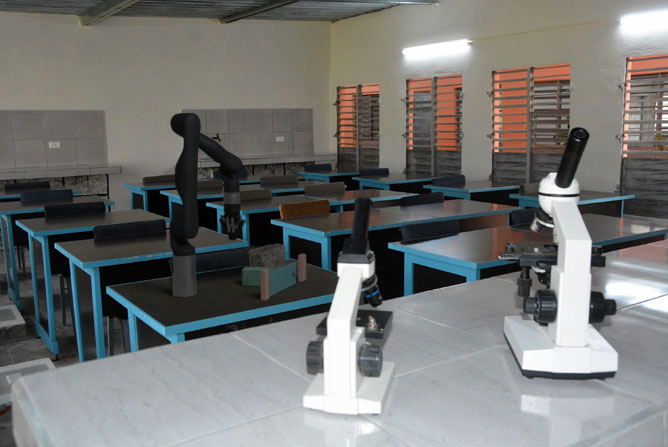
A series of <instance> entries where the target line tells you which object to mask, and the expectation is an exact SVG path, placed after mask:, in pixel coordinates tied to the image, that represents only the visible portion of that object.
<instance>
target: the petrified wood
mask: <svg viewBox="0 0 668 447" xmlns="http://www.w3.org/2000/svg"><path fill="white" fill-rule="evenodd" d="M248 264H249V265H248V267H268V268H274V271H275V270H277V269H279V268H282V267H284V266H286V265H287V264H286V246H285V245H284V244H282V243H281V244H280V243H273V244H266V245H264V246H260V247H256V248H252V249H249V250H248Z"/></svg>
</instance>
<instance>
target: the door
mask: <svg viewBox="0 0 668 447" xmlns="http://www.w3.org/2000/svg"><path fill="white" fill-rule="evenodd" d="M297 276H298V272H297V262H295V261H294V262H291V263H289V264H286V266H284V267H282V268H279V269H277V270H275V271H272V272H270V273H269V298H270V297H272V296H274V295H276V294H278V293H281V292H282V291H284V290H286V289H287V288H289V287H292V286H294V285H296V284H297Z"/></svg>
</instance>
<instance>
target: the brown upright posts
mask: <svg viewBox="0 0 668 447" xmlns="http://www.w3.org/2000/svg"><path fill="white" fill-rule="evenodd" d="M297 256H298V257H297V265H298V266H297V271H298V272H297V276H298V278H297V281H298V282H304V281H306V280H307V254H306V253H300V254H298V255H297ZM269 299H270V297H269V270H262V271H261V286H260V300H261V301H268V300H269Z"/></svg>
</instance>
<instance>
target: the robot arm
mask: <svg viewBox="0 0 668 447" xmlns="http://www.w3.org/2000/svg"><path fill="white" fill-rule="evenodd" d="M169 122H170V123H169V124H170V128H171V130H172V132H173V133H175V134H176V135H177V136H179V137H181V138H183V148H182V150H181V152H180V155H179V157H178V159H177V161H176V164H175V166H174V188H176V192H177V194H178V196H179V198H180V201H181V203H182V209H183V210H182V212H183V214H182V215H175V216H173V217H172V218H171V220H170V222H169V225H168V226H169V228H168V229H169V230H168V231H169V244H170V249H171V251H172V266H173V267H172V270H173V271H172V272H173V273H172V277H171V278H172V280H171V281H172V284H171V285H172V297H178V298H188V297H193V296H196V295H197V265H196V263H197V262H196V261H197V260H196V254H197V253H196V247H195V246H194V245H193V244H191V243H190V241H189V240H193V239H195V238H196V237H197V235H198V233H199V229H200V219H199V208H198V207H199V206H198V179H199V177H198V176H199V173H198V170H199V169H198V167H199V166H198V165H199V150H201V151H202V152H203V153H204V154H205V155H207V156H208V157H209V158H210V159H211V160H212V161H213V162H215V163H217V164H219V171H220V175H221V179H222V182H223V198H222V199H223V200H222V201H223V217H221V218H219V219H218V221H219V223H220V225H221V226H222V228H223V230H224V231H227V233H228V234H227V235H228V236H227V237H228V240H229V241H236V240H237V239H238V238H237V237H238V232H240V231H241V230H242V229H243V227H244V225H245V224H246V222H247V221H246V219H243V218H242V215H241V205H242V204H241V200H242V199H241V191H240V186H241V185H240V183H241V182H240V180H239V179H238V178H235V177H234V174H239V173H241V172H242V170H243V169H244V164H243V161H242V160H241V158H240V157H239V156H237V155H235V154H234V153H232V152H231V151H228V150H227V149H226V148H224V147H223V145H221V143H219V142H218V141H216V140H215V139H214V138H212V137H209V136H207V135H205V134H204V133H202V132H201V128H202V123H201V119H200V117H199V115H198V114H196V113H194V112H177V113H175V114H173V116H171V119H170V121H169Z"/></svg>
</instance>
